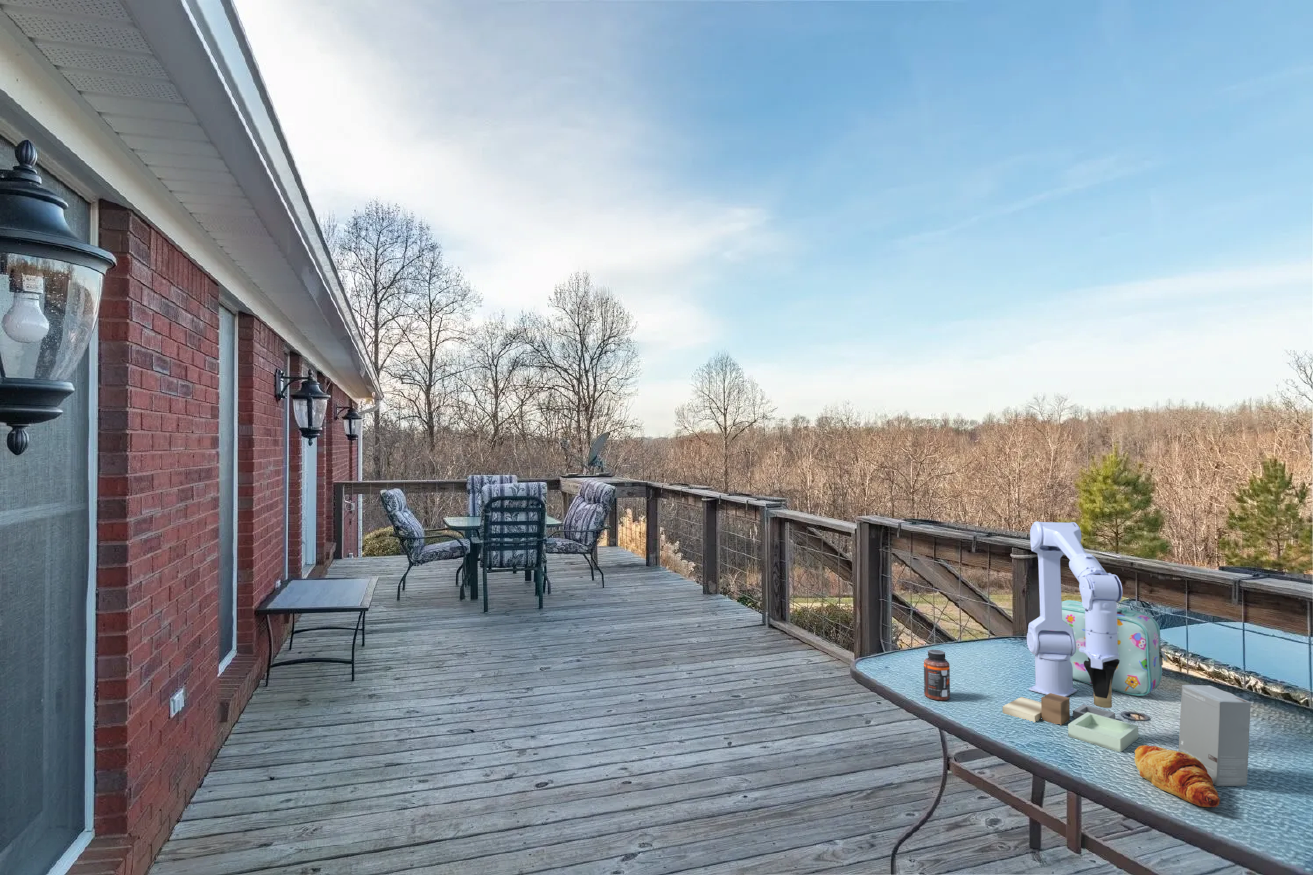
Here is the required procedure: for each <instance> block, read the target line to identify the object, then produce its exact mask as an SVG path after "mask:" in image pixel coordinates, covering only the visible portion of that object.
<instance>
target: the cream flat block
mask: <svg viewBox="0 0 1313 875" xmlns="http://www.w3.org/2000/svg"><path fill="white" fill-rule="evenodd" d="M1002 713H1003V714H1004V715H1008V716H1012V717H1015V718H1018V717H1019V719H1021V718H1022V720H1025V719H1026V720H1025V721H1028V720H1029V721H1028V722H1031V721H1033V722H1032V723H1036V721H1037V722H1038V721H1040V720H1042V719H1041V718H1042V713H1041V701H1038V700H1034V699H1031V698H1026V697H1023V696H1020V697H1018V698H1017V699H1014V700H1012V701H1010V702H1009V703H1006V704H1004V705H1002ZM1039 719H1040V720H1039Z"/></svg>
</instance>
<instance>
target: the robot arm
mask: <svg viewBox="0 0 1313 875" xmlns="http://www.w3.org/2000/svg"><path fill="white" fill-rule="evenodd" d="M1029 534H1030V535H1029V536H1030V538H1029V539H1030V549H1031V552H1033V553H1036V554H1037V560H1038V563H1037V564H1038V589H1039V593H1038V594H1039V616H1038V617H1037V618H1035V619H1033V620H1032V621H1030V622H1029V623H1028V626H1027V627H1028V628H1027V633H1026V644H1027V645H1026V646H1027V648H1028V650H1029V651H1030V652H1031V654H1033V655H1034V667H1035V668H1034V675H1035V684H1034V685H1033V686H1030V687H1029V688H1028V690H1029V691H1031V692H1035V693H1039V694H1043V695H1047V694H1049V693H1052V694H1056V695H1060V696H1064V697H1069V696H1071V695H1072V694H1074V693H1076V692H1078V689H1077V688H1074V683H1073V681H1074V679H1073V667H1072V663H1071V661H1070V660H1071V657H1072V656H1073V655H1074V654H1075V652H1076V641H1075V638H1074V631H1073V628H1072V627H1071V626H1070V625H1069V624H1068V623H1066V622H1065V621H1063V620H1062V601H1063V600H1062V580H1061V579H1062V578H1061V576H1062V575H1061V573H1062V572H1061V558H1062V557H1063V555H1064V556H1066V557H1067V559H1069V562H1068V566H1069V570H1071V572H1072V574H1073V575H1074V577H1075V578H1076V580H1077V582H1078V583H1079V584H1078V586H1079V587H1078V588H1079V590H1078V591H1079V593H1080V597H1081V602H1082V605H1083V607H1084V608H1085V640H1086V648H1084V647H1080V648H1079V652H1083V653H1085V654H1086V655H1087V656H1088V660H1089V661H1086V660H1085V661H1084V666H1085V668H1086V670H1087V672H1088V674H1089V676H1090V679H1091V682H1092V685H1091V686H1092V690H1093V691H1092V692H1093V695H1094V694H1095V696H1096V697H1101V698H1106V699H1107V697H1108V693H1109V687H1110V681H1111V686H1112V681H1113V676H1114V672H1115V670H1116V667H1117V666H1118V664H1119V663H1120V660H1118V658H1119V653H1118V640H1117V608H1118V604H1117V603H1119V602H1120V601H1122V598H1123V586H1122V585H1123V584H1122V582H1121V580H1120V578H1119V576H1118V575H1116V574H1112V573H1111V572H1107V571H1106V570H1105V568H1103V566H1102V564H1101V563H1100V562H1099V560H1098V559H1097V558H1096V556H1094V554H1091V553H1088V552H1086V551H1085V548H1084V547H1083V545H1082V543H1081V542H1082V530H1081V528H1080V526H1079V525H1078V524H1077V523H1076V522H1074V521H1071V522H1059V521H1058V522H1054V521H1052V522H1051V521H1047V522H1046V521H1034V522H1033V523H1032V524H1031V526H1030V530H1029ZM1051 630H1055V631H1051Z"/></svg>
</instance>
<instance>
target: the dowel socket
mask: <svg viewBox="0 0 1313 875" xmlns="http://www.w3.org/2000/svg"><path fill="white" fill-rule="evenodd" d="M1087 712H1089V713H1093V714H1097V715H1100V716H1104V717H1108V718H1111V719H1115V720H1116V712H1113V711H1110V710H1105V709H1101V708H1100V707H1099V708H1097V707H1095V706H1091V705H1087V704H1082V705H1080V706H1079V707H1077V708H1075V709H1073V710H1072V718H1074V719H1077V718H1079V717H1080V716H1082V715H1084V714H1085V713H1087Z"/></svg>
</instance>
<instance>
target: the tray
mask: <svg viewBox="0 0 1313 875" xmlns="http://www.w3.org/2000/svg"><path fill="white" fill-rule="evenodd" d="M1067 728H1068V729H1067V734H1068V737H1070V738H1073V739H1074V740H1075V739H1076V740H1078V741H1083V742H1086V743H1088V744H1092V745H1095V746H1099V747H1102V748H1104V749H1108V750H1112V751H1115V752H1118V753H1122V752H1123V751H1124V750H1125V749H1126V748H1128V747H1129V746H1131V745H1132V744H1133V743H1134V742H1136V741H1137V740H1138V739H1139V725H1137V724H1133V723H1130V722H1125V721H1122V720H1118V719H1116V718H1115V719H1111V718H1108V717H1104V716H1100V715H1097V714H1093V713H1089V712H1087V713H1085V714H1084V715H1082V716H1080V717H1079V718H1075V719H1074V720H1072V721H1071V722H1070V723H1068V724H1067Z"/></svg>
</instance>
